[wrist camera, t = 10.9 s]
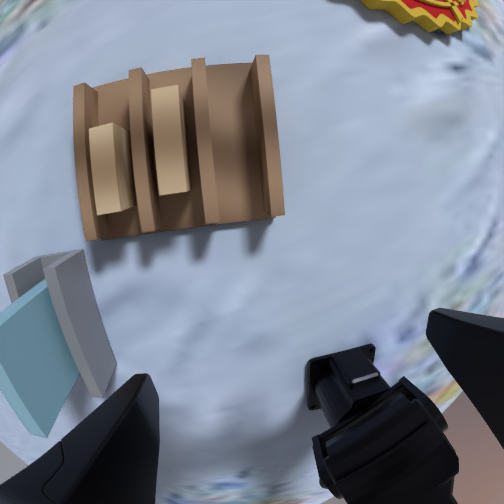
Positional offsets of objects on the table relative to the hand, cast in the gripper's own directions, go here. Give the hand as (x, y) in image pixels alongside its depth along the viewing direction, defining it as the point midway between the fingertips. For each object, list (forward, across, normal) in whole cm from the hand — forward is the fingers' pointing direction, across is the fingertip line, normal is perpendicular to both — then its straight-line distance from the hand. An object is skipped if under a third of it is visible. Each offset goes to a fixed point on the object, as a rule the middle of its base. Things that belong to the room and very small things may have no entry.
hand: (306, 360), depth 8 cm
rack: (+13, +3, -8) cm, 15 cm away
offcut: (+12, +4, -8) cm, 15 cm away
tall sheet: (+12, +15, +3) cm, 19 cm away
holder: (+13, +15, +3) cm, 20 cm away
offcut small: (+12, +8, -7) cm, 16 cm away
